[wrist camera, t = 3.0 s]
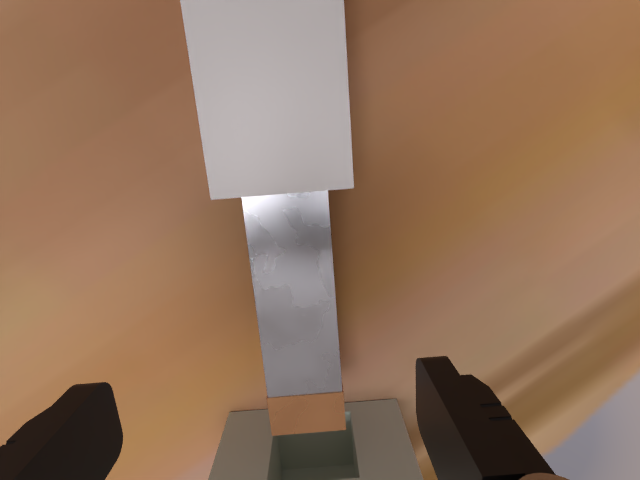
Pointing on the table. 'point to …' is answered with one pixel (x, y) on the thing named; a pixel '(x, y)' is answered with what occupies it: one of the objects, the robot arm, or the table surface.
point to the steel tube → (296, 310)
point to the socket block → (319, 448)
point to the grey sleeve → (271, 95)
